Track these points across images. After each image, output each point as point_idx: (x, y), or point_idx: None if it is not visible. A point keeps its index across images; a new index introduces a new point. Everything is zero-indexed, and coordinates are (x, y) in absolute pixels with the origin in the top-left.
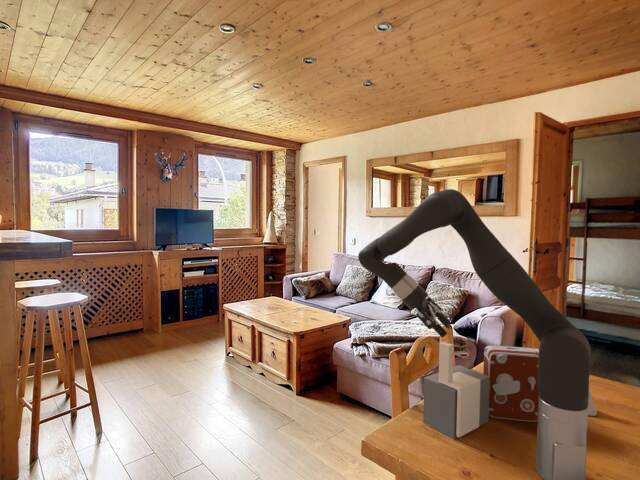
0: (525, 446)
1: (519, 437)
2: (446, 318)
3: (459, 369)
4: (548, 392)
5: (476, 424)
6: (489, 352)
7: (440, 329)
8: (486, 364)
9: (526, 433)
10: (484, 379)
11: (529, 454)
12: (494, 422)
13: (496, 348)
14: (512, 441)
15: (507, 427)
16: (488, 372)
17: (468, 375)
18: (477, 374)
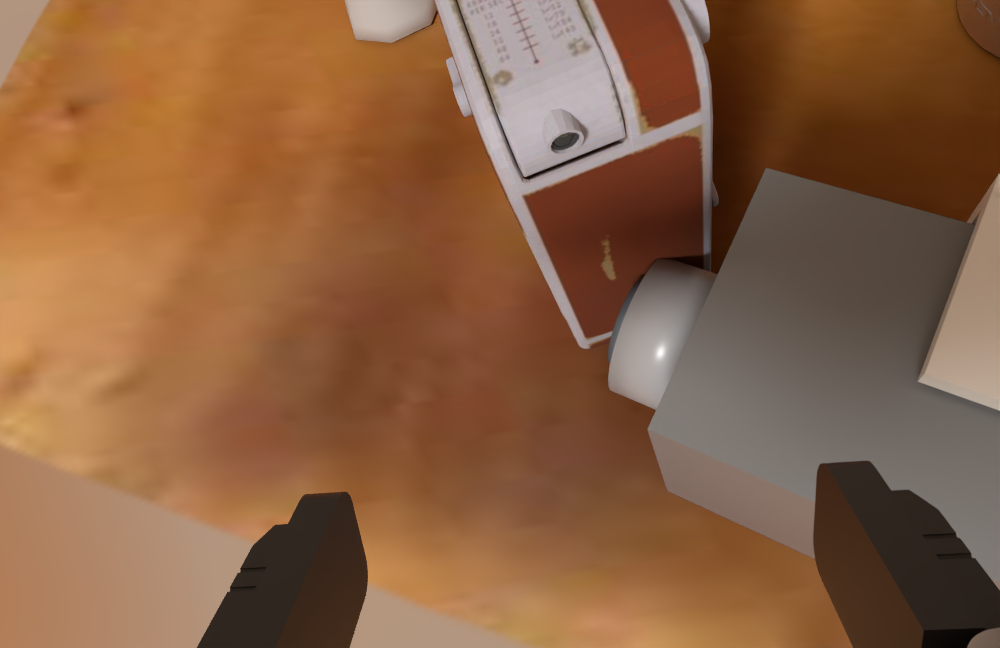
0: (896, 130)
1: (824, 162)
2: (300, 559)
3: (757, 403)
4: None
5: None
6: (655, 83)
7: (981, 570)
8: (639, 185)
9: (760, 144)
10: (842, 191)
11: (962, 108)
12: None
13: (560, 34)
14: (889, 181)
15: None
16: (706, 180)
17: (968, 274)
18: (779, 250)
